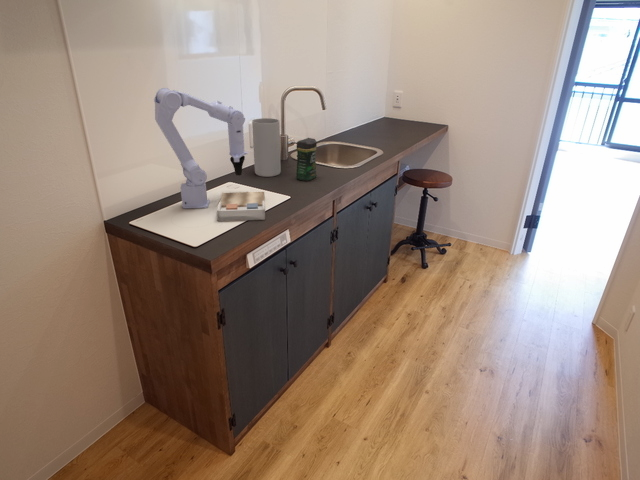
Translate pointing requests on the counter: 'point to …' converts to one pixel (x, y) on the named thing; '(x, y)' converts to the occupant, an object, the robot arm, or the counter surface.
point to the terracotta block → (232, 207)
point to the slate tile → (252, 205)
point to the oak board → (242, 198)
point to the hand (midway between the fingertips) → (238, 174)
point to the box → (241, 213)
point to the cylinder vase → (266, 146)
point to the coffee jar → (306, 159)
